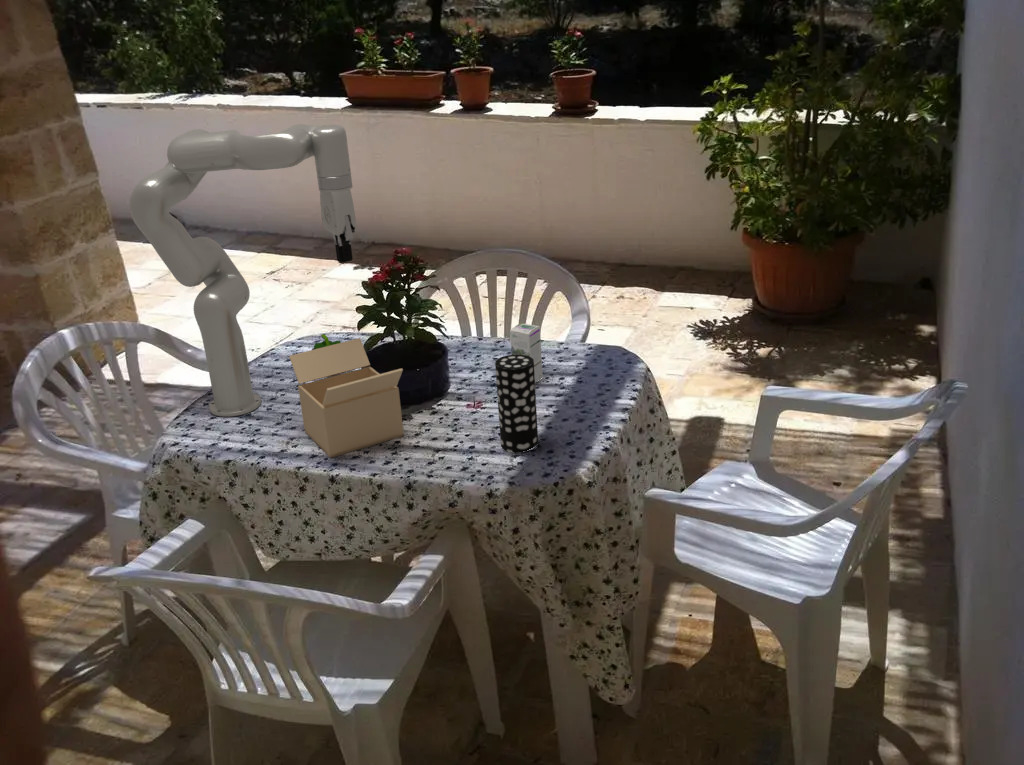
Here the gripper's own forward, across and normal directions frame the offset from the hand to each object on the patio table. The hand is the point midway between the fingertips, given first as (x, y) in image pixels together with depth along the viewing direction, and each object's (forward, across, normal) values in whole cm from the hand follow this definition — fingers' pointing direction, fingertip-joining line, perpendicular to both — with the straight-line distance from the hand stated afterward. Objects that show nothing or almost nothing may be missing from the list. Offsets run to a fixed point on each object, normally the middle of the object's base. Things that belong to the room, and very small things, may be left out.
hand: (345, 260), depth 242 cm
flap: (+22, +4, -8) cm, 23 cm away
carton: (+37, +13, -8) cm, 40 cm away
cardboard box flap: (+22, +22, -8) cm, 32 cm away
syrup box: (+37, +12, +40) cm, 56 cm away
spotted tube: (+37, +41, +20) cm, 59 cm away
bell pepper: (+37, -26, +2) cm, 46 cm away
